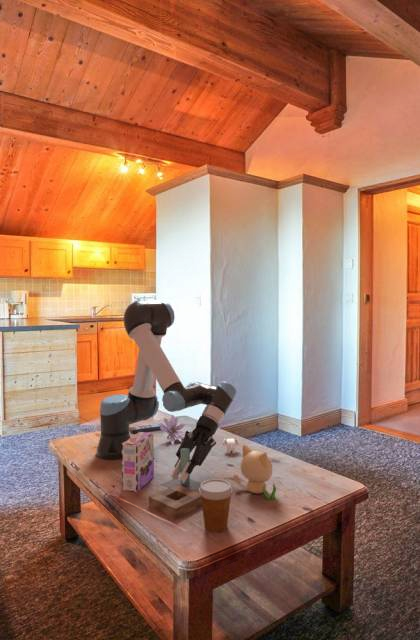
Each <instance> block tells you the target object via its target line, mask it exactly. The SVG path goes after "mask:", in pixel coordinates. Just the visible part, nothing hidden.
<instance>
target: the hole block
mask: <svg viewBox="0 0 420 640" xmlns="http://www.w3.org/2000/svg"><path fill="white" fill-rule="evenodd" d="M148 507H149V508H151V509H154V510H155V511H158V512H160V513H162V514H165V516H168V517H170V518H172V519H174V520H178V519H180V518H181V517H184V516H186V515H187V514H189V513H191V512H193V511H194V510H195V511H196V509H198V508H200V507H202V501H201V495H200V493H199V491H197V490H195V491H193V490H191V489H188V488H186V487H183V486H181V485H178V484H176V485H174V486H171V487H169V488H168V487H166V488H165V489H162V490H160V491H158V492H156V493H154V494H152V495H150V496H148Z"/></svg>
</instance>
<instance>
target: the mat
mask: <svg viewBox="0 0 420 640" xmlns="http://www.w3.org/2000/svg"><path fill="white" fill-rule="evenodd" d="M179 477H180V475H179V476H178V478H177V479H176V480H174V479H173V478H172V479H171V480H168V481H165V482H163V483H161V484H160V486H163V487H165V488H169V487H171V486H174V485H176V484H178V485H181V481H180V480H179ZM201 483H202V482H199V481H197V480H194V479H192V478H190V485H188V486H183V487H186V488H188V489H191V490H193V491H197V490H199V488H200V486H201ZM181 486H182V485H181Z"/></svg>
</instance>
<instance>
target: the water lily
mask: <svg viewBox="0 0 420 640" xmlns="http://www.w3.org/2000/svg"><path fill="white" fill-rule="evenodd" d="M178 421H179V419H178V416H176V417H175V416H174V415H173V414H171V416H170V420H168V418H166V417H163V422H164V423H165V425H166V426H165V425H160V426H159V429H160V430H161V431H163V432H165V433H166V434H167V436H166V438H167V439H169V440H170V443H171V445H174V443H175V441H176V439H177V440H178V441H180V442H182V439H184V437H185V433H184V432H183V431H181V430H183V429H184V428H185V427H186V425H187V424H186V423H180V424H178V423H179V422H178Z"/></svg>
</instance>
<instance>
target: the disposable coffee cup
mask: <svg viewBox="0 0 420 640" xmlns="http://www.w3.org/2000/svg"><path fill="white" fill-rule="evenodd" d="M200 483H201V486H200V488H199V489H198V493H200V495H201V501H202V506H201V508H202V514H203V515H202V516H203V522H204V528H205V530H206V531H207V532H211V533H222V532H224V531H226V530H227V528H228V520H229V512H230V506H231V505H230V504H231V497H232V493H233V487H232V485H231V483H230V482H229V481H227V480H225V479H220V478H219V479H217V478H216V479H215V478H213V479H212V478H211V479H207V480H204V481H202V482H200Z"/></svg>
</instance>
